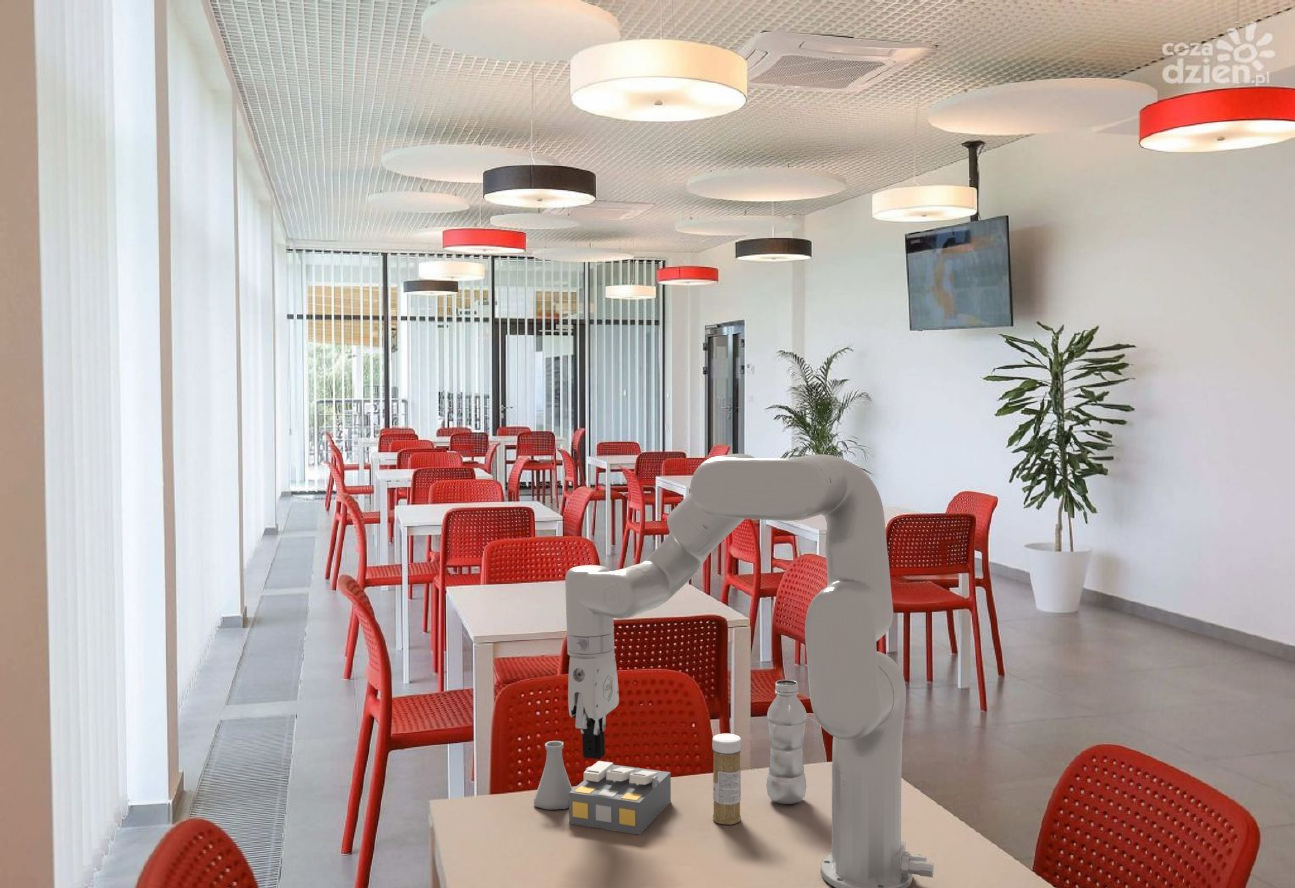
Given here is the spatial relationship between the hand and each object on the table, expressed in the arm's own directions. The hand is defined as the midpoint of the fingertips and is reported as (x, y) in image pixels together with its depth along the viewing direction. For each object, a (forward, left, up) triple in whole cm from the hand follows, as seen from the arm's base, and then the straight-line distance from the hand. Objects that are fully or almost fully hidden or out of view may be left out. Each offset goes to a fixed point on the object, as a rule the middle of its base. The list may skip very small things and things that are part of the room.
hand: (594, 756), depth 168 cm
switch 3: (-7, -3, -4) cm, 9 cm away
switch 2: (-3, -3, -4) cm, 6 cm away
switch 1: (+1, -3, -4) cm, 5 cm away
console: (-3, -3, -10) cm, 11 cm away
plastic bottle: (-27, -17, -10) cm, 34 cm away
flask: (+9, -3, -10) cm, 14 cm away
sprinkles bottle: (-20, -6, -10) cm, 23 cm away
